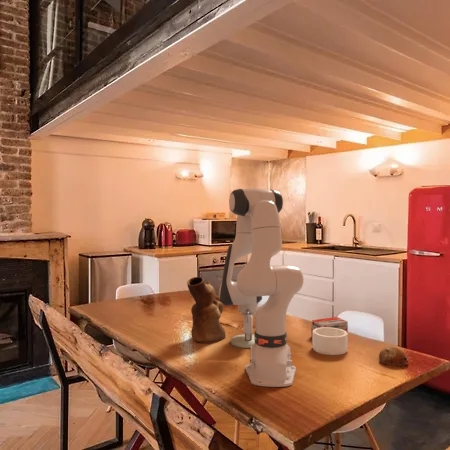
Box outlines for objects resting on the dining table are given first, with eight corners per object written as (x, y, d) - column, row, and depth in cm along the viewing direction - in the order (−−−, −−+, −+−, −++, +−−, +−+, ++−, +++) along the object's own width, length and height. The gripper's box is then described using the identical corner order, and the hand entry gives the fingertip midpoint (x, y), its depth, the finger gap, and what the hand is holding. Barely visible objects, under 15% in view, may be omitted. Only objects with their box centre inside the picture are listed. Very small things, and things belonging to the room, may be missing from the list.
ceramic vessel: (232, 337, 191) (231, 274, 190) (204, 350, 173) (203, 280, 172) (205, 332, 200) (205, 271, 199) (176, 344, 182) (175, 277, 181)
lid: (266, 348, 175) (266, 337, 174) (229, 347, 176) (229, 337, 176) (265, 337, 190) (265, 327, 190) (231, 336, 192) (231, 326, 192)
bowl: (350, 355, 167) (350, 337, 166) (315, 354, 168) (315, 336, 168) (343, 344, 181) (343, 327, 181) (310, 343, 182) (310, 327, 182)
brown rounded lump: (388, 365, 166) (380, 346, 168) (413, 360, 160) (404, 340, 161) (380, 373, 158) (371, 352, 160) (405, 367, 152) (396, 346, 154)
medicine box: (321, 341, 185) (321, 324, 185) (310, 336, 193) (311, 320, 192) (348, 337, 191) (348, 320, 191) (337, 332, 198) (337, 316, 198)
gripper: (255, 312, 172) (255, 345, 172) (255, 302, 192) (255, 331, 193) (240, 312, 173) (240, 345, 173) (242, 301, 193) (242, 330, 193)
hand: (248, 337), depth 183 cm, fingers open, 4 cm apart
